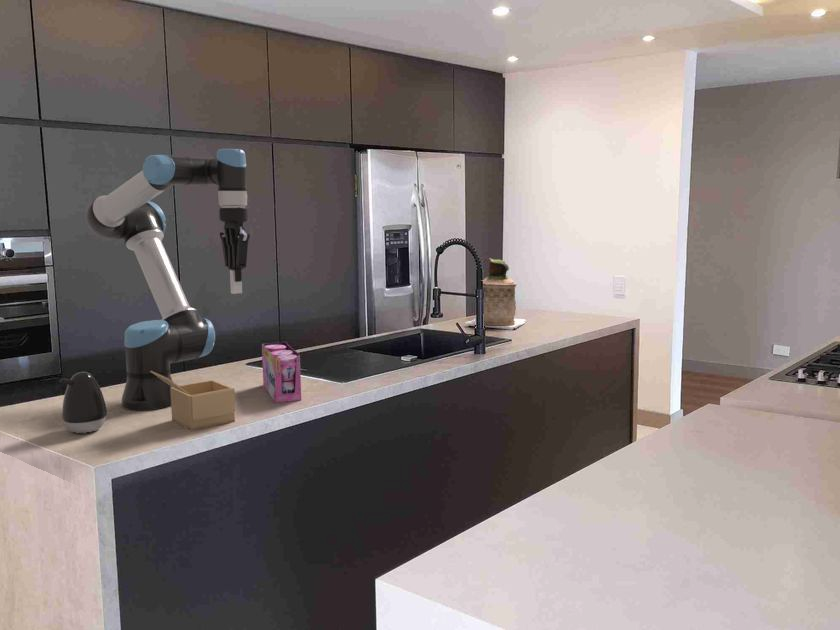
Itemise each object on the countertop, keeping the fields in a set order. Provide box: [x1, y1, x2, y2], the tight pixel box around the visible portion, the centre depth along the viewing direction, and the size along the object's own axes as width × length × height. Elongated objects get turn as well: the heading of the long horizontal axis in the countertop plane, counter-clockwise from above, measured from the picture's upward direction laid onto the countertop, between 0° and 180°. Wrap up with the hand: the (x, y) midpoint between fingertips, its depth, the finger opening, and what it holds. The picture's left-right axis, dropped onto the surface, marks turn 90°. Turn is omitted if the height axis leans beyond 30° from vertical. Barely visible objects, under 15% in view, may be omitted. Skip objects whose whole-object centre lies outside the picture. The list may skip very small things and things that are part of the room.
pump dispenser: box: [59, 371, 108, 434], centre depth 180 cm, size 10×10×15 cm
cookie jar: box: [464, 257, 527, 331], centre depth 339 cm, size 25×25×32 cm
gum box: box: [261, 341, 302, 403], centre depth 216 cm, size 24×8×14 cm, turn 21°
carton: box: [170, 379, 236, 432], centre depth 189 cm, size 13×12×9 cm
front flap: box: [150, 371, 189, 395], centre depth 182 cm, size 11×7×1 cm
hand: (236, 293), depth 198 cm, fingers closed
